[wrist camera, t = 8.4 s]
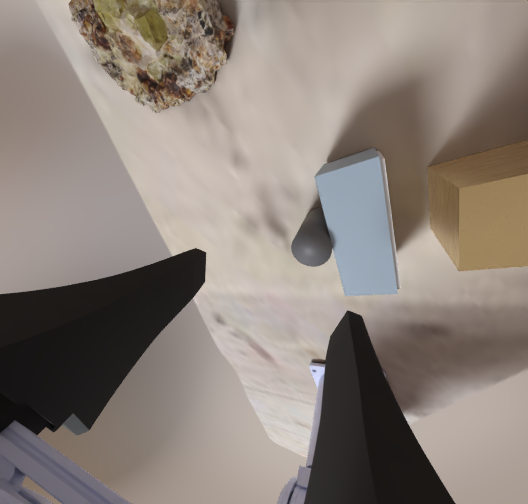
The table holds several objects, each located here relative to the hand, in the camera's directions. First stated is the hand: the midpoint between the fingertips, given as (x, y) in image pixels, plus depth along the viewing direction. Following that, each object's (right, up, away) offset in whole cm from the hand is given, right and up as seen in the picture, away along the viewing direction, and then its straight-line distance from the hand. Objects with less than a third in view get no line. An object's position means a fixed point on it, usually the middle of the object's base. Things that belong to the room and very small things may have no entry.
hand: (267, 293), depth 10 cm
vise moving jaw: (+5, +4, +5) cm, 9 cm away
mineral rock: (-7, +16, +4) cm, 18 cm away
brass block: (+12, +6, +2) cm, 13 cm away
